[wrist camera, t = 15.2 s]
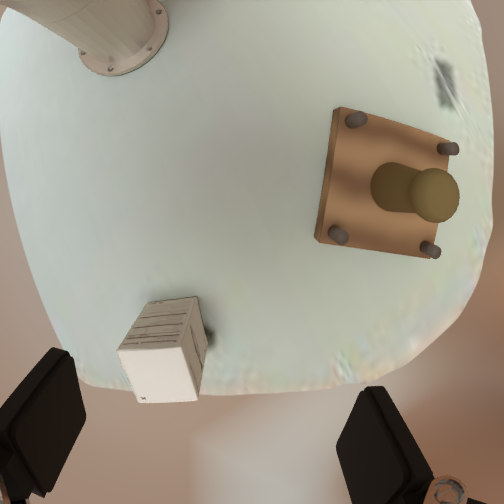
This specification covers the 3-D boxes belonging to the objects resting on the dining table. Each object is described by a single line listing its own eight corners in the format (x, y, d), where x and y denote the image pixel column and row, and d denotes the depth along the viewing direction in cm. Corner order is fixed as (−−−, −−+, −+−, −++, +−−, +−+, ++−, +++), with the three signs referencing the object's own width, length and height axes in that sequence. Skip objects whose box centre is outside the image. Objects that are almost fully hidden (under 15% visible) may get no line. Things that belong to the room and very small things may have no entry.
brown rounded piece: (412, 211, 35) (466, 230, 24) (370, 212, 35) (417, 231, 24) (412, 163, 33) (469, 166, 23) (369, 161, 33) (419, 161, 23)
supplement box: (209, 342, 42) (199, 403, 30) (159, 346, 42) (136, 404, 30) (198, 294, 40) (182, 346, 28) (145, 300, 40) (113, 351, 28)
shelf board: (333, 110, 34) (349, 101, 29) (438, 141, 36) (464, 140, 30) (313, 237, 39) (326, 249, 33) (419, 252, 40) (441, 265, 34)
